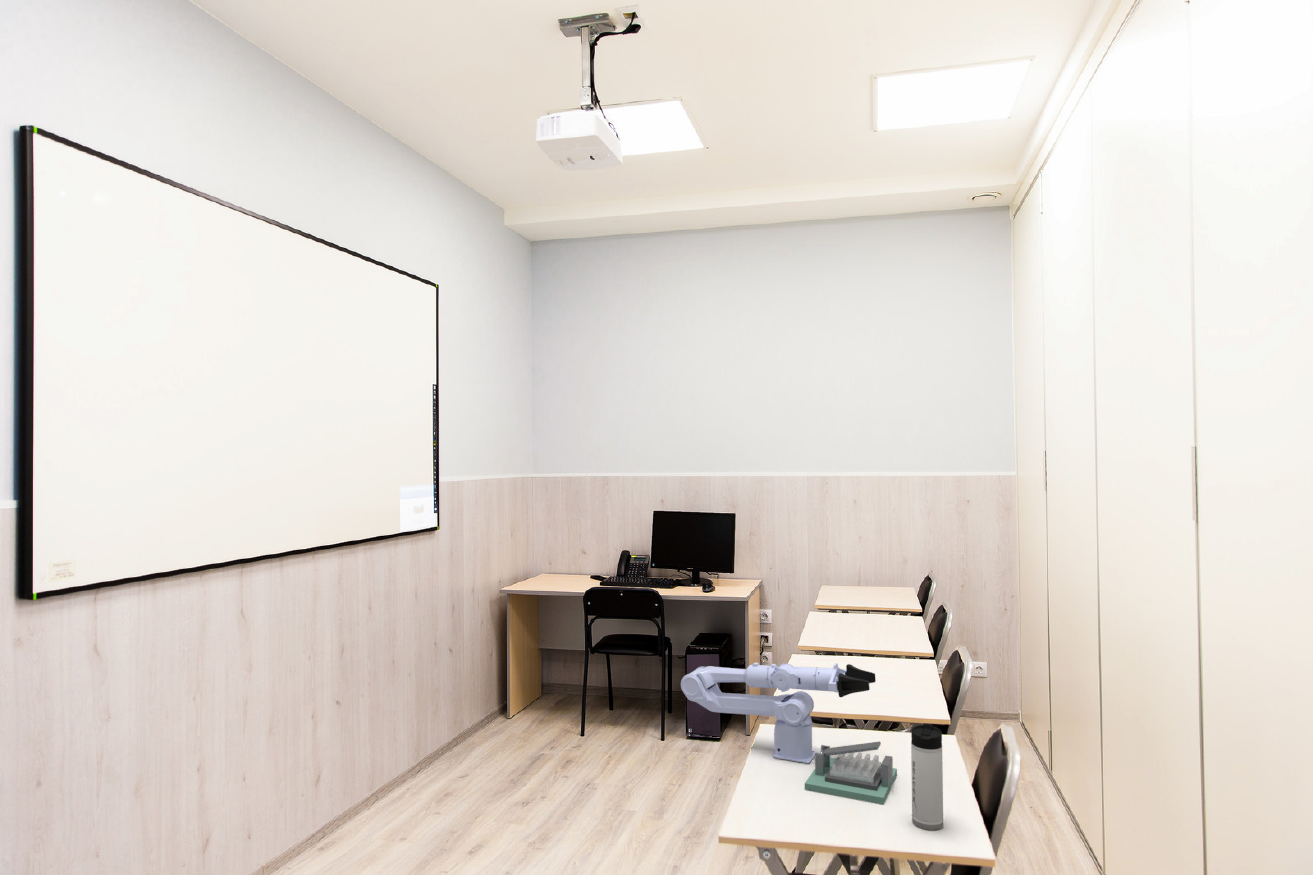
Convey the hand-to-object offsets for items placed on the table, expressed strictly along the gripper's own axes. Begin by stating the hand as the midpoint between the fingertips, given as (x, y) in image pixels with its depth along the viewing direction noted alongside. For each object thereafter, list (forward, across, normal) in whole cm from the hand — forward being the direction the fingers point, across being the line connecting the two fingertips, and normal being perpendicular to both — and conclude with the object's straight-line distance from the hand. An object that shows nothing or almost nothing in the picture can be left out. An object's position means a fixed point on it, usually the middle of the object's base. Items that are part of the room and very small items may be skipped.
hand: (872, 681), depth 194 cm
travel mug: (+14, -24, +23) cm, 36 cm away
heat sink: (-4, -10, +20) cm, 23 cm away
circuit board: (-5, -10, +21) cm, 24 cm away
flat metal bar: (-4, -10, +14) cm, 18 cm away
